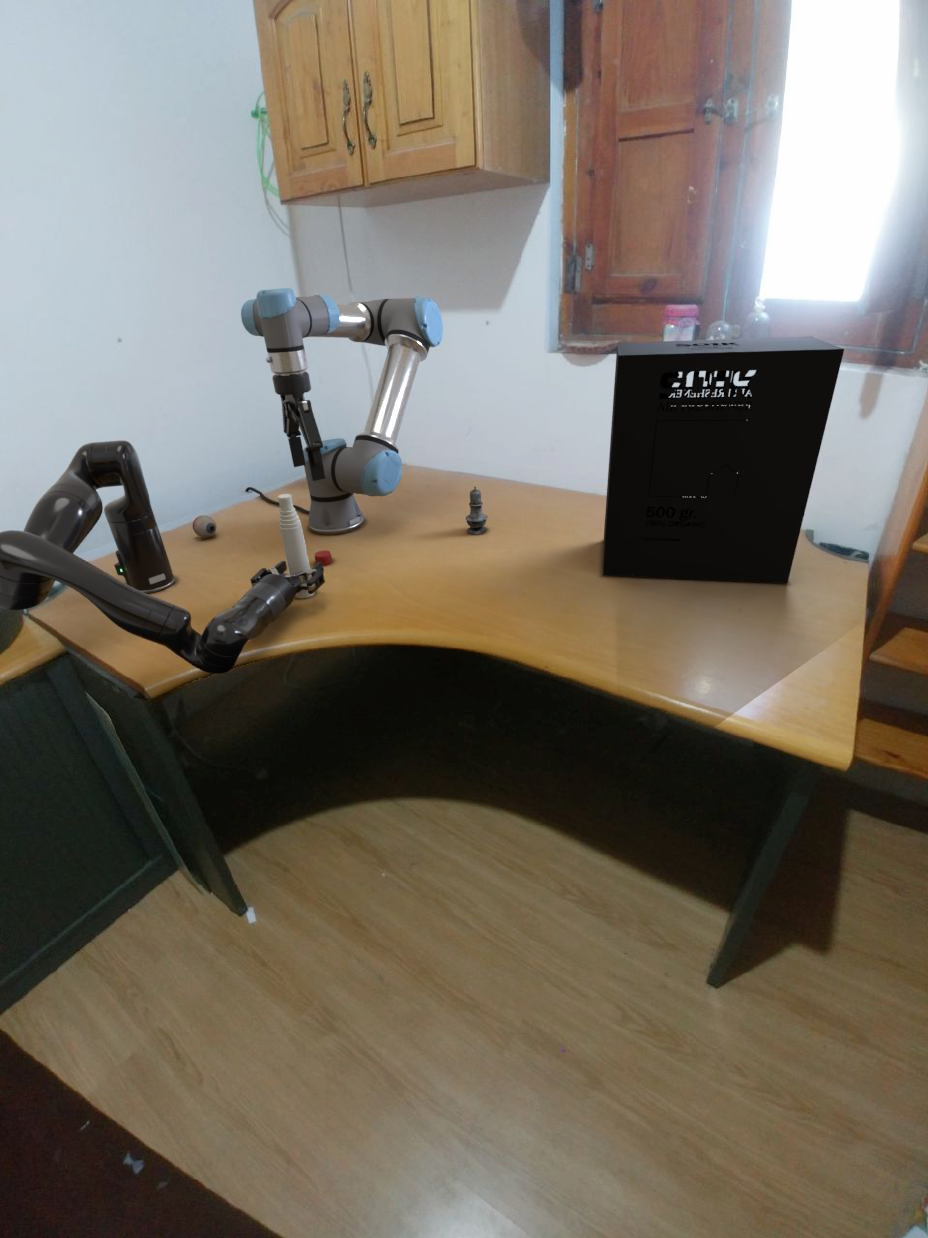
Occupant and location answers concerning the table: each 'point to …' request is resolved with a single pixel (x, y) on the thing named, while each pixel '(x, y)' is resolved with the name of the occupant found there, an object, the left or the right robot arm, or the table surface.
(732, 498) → the cardboard box
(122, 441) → the left robot arm
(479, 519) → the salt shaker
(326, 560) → the cap
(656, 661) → the table surface
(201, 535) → the eyeball
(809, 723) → the table surface
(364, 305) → the right robot arm
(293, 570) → the bottle
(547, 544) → the table surface
